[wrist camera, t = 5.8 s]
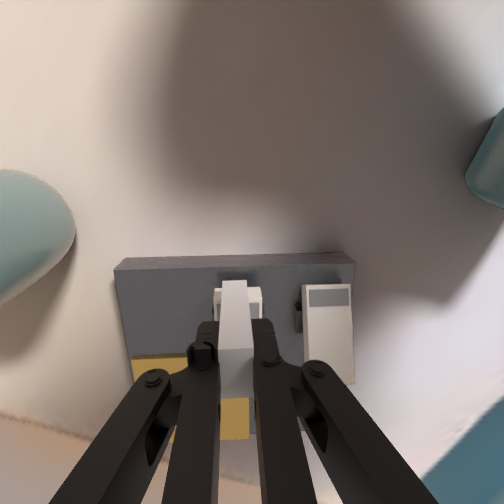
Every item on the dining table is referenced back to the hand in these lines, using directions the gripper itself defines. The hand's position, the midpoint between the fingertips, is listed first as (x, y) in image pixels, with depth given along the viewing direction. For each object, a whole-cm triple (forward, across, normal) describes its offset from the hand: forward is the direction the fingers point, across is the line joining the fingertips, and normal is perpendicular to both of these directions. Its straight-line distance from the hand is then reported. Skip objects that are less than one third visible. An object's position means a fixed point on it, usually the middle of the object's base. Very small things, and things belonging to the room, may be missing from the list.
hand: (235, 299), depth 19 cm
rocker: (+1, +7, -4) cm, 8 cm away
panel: (+6, 0, -8) cm, 10 cm away
